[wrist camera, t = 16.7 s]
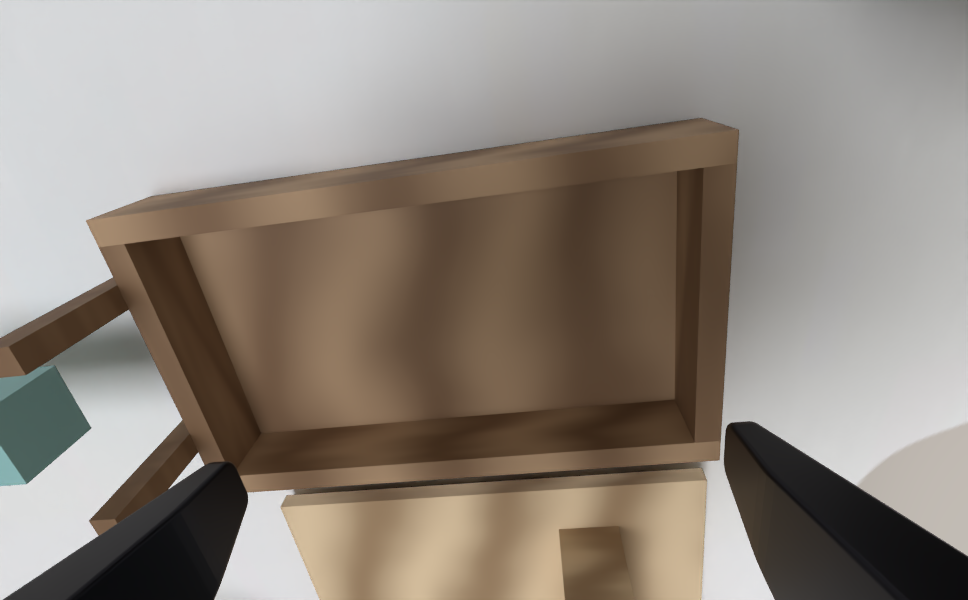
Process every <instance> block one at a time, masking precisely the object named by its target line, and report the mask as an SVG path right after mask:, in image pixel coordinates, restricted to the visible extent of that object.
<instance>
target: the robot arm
mask: <svg viewBox="0 0 968 600" xmlns="http://www.w3.org/2000/svg"><path fill="white" fill-rule="evenodd" d="M724 467H725V472H726V475H727V478H728V481H729V484H730V487H731V490H732V493H733V495H734V498H735V501H736V504H737V507H738V510H739V512H740V515H741V518H742V521H743V524H744V527H745V530H746V532H747V535H748V538H749V541H750V544H751V547H752V549H753V552H754V555H755V557H756V560H757V562H758V565H759V567H760V569H761V571H762V574H763V576H764V578H765V580H766V582H767V584H768V586H769V588H770V590H771V593H772V595H773V597H774V599H775V600H968V556H967V555H965V554H964V553H962V552H961V551H959V550H957V549H955V548H954V547H953V546H951V545H949V544H948V543H946V542H945V541H943V540H941V539H940V538H938V537H937V536H935V535H933V534H932V533H930V532H929V531H927V530H925V529H924V528H922V527H921V526H919V525H918V524H916V523H914V522H913V521H911V520H910V519H908V518H906V517H905V516H903V515H902V514H900V513H898V512H897V511H895V510H894V509H892V508H890V507H889V506H887V505H885V504H884V503H883V502H881V501H879V500H878V499H876V498H875V497H873V496H871V495H870V494H868V493H867V492H865V491H863V490H862V489H860V488H859V487H857V486H856V485H854V484H852V483H851V482H849V481H848V480H846V479H844V478H843V477H841V476H840V475H838V474H837V473H835V472H833V471H832V470H830V469H829V468H827V467H825V466H824V465H822V464H821V463H819V462H817V461H816V460H814V459H813V458H811V457H809V456H808V455H806V454H805V453H803V452H802V451H800V450H798V449H797V448H795V447H794V446H792V445H790V444H789V443H787V442H786V441H784V440H782V439H781V438H779V437H778V436H776V435H775V434H773V433H771V432H770V431H768V430H767V429H765V428H763V427H762V426H760V425H759V424H757V423H755V422H750V421H748V422H735V423H730V424H729V425H727V428H726V435H725V450H724ZM247 504H248V494H247V491H246V488H245V486H244V484H243V482H242V479H241V477H240V475H239V473H238V471H237V468H236V466H235V465H234V464H233V463H232V462H229V461H221V462H211V463H208V464H206V465H205V466H203V467H202V468H200V469H199V470H197V471H196V472H194V473H193V474H191V475H189V476H188V477H186V478H185V479H183V480H182V481H180V482H179V483H177V484H176V485H174V486H173V487H171V488H170V489H168V490H167V491H165V492H164V493H162V494H161V495H159V496H158V497H156V498H155V499H153V500H152V501H150V502H149V503H147V504H146V505H144V506H143V507H141V508H140V509H138V510H137V511H135V512H134V513H132V514H131V515H129V516H128V517H126V518H125V519H123V520H122V521H120V522H119V523H117V524H116V525H114V526H113V527H111V528H110V529H108V530H107V531H105V532H104V533H102V534H101V535H99V536H98V537H96V538H95V539H93V540H92V541H90V542H89V543H87V544H86V545H84V546H83V547H81V548H80V549H78V550H77V551H75V552H74V553H72V554H71V555H69V556H68V557H66V558H65V559H63V560H62V561H60V562H59V563H57V564H56V565H54V566H53V567H51V568H50V569H48V570H47V571H45V572H44V573H42V574H41V575H39V576H38V577H36V578H35V579H33V580H32V581H30V582H29V583H27V584H26V585H24V586H23V587H21V588H20V589H18V590H17V591H15V592H14V593H12V594H11V595H9V596H8V597H6V598H5V599H3V600H214V599H215V596H216V594H217V591H218V589H219V587H220V584H221V581H222V578H223V576H224V573H225V570H226V567H227V564H228V561H229V558H230V555H231V553H232V550H233V547H234V544H235V541H236V538H237V535H238V532H239V529H240V526H241V523H242V520H243V517H244V514H245V511H246V508H247Z"/></svg>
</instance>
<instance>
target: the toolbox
mask: <svg viewBox="0 0 968 600" xmlns="http://www.w3.org/2000/svg"><path fill="white" fill-rule="evenodd" d="M738 139H739V130H738V129H735V128H732V127H729V126H725V125H722V124H719V123H716V122H713V121H709V120H706V119H703V118H697V119H690V120H683V121H676V122H669V123H662V124H655V125H648V126H641V127H634V128H627V129H620V130H613V131H606V132H599V133H592V134H585V135H578V136H571V137H564V138H557V139H550V140H543V141H536V142H529V143H522V144H515V145H508V146H501V147H494V148H487V149H480V150H473V151H466V152H459V153H452V154H445V155H438V156H431V157H424V158H417V159H410V160H403V161H396V162H389V163H382V164H375V165H368V166H361V167H354V168H347V169H340V170H333V171H326V172H319V173H312V174H305V175H298V176H291V177H284V178H277V179H270V180H263V181H256V182H249V183H242V184H235V185H228V186H221V187H214V188H207V189H200V190H193V191H186V192H179V193H172V194H165V195H158V196H151V197H148V198H145V199H143V200H140V201H137V202H134V203H132V204H129V205H126V206H124V207H121V208H118V209H116V210H113V211H110V212H108V213H105V214H102V215H100V216H97V217H94V218H91V219H89V220H86V222H87V224H88V226H89V228H90V230H91V232H92V234H93V236H94V238H95V240H96V242H97V245H98V247H99V249H100V251H101V253H102V255H103V257H104V259H105V261H106V263H107V265H108V267H109V269H110V271H111V273H112V275H113V278H111V279H109V280H107V281H106V282H104V283H102V284H100V285H98V286H96V287H94V288H93V289H91V290H89V291H87V292H85V293H83V294H81V295H80V296H78V297H76V298H74V299H72V300H70V301H68V302H67V303H65V304H63V305H61V306H59V307H57V308H55V309H54V310H52V311H50V312H48V313H46V314H44V315H42V316H41V317H39V318H37V319H35V320H33V321H31V322H29V323H28V324H26V325H24V326H22V327H20V328H18V329H16V330H15V331H13V332H11V333H9V334H7V335H5V336H3V337H2V338H0V378H4V377H14V376H24V375H27V374H29V373H30V372H32V371H33V370H35V369H37V368H38V367H40V366H41V365H43V364H44V363H46V362H47V361H49V360H51V359H52V358H54V357H55V356H57V355H58V354H60V353H61V352H63V351H65V350H66V349H68V348H69V347H71V346H72V345H74V344H76V343H77V342H79V341H80V340H82V339H83V338H85V337H86V336H88V335H90V334H91V333H93V332H94V331H96V330H97V329H99V328H100V327H102V326H104V325H105V324H107V323H108V322H110V321H111V320H113V319H114V318H116V317H118V316H119V315H121V314H122V313H124V312H125V311H127V310H130V312H131V314H132V317H133V319H134V321H135V323H136V325H137V327H138V329H139V331H140V333H141V335H142V337H143V339H144V341H145V343H146V345H147V347H148V349H149V351H150V354H151V356H152V358H153V360H154V362H155V364H156V366H157V368H158V370H159V372H160V374H161V376H162V378H163V380H164V382H165V384H166V386H167V389H168V391H169V393H170V395H171V397H172V399H173V401H174V403H175V405H176V407H177V409H178V411H179V413H180V415H181V417H182V419H183V420H182V421H181V422H180V423H179V425H178V426H177V427H176V428H175V429H174V430H173V431H172V432H171V433H170V434H169V435H168V436H167V437H166V439H165V440H164V441H163V442H162V443H161V444H160V445H159V446H158V447H157V448H156V449H155V450H154V451H153V453H152V454H151V455H150V456H149V457H148V458H147V459H146V460H145V461H144V462H143V463H142V464H141V465H140V467H139V468H138V469H137V470H136V471H135V472H134V473H133V474H132V475H131V476H130V477H129V478H128V479H127V481H126V482H125V483H124V484H123V485H122V486H121V487H120V488H119V489H118V490H117V491H116V492H115V493H114V495H113V496H112V497H111V498H110V499H109V500H108V501H107V502H106V503H105V504H104V505H103V506H102V507H101V508H100V510H99V511H98V512H97V513H96V514H95V515H94V516H93V517H92V518H91V519H90V520H89V522H90V523H91V525H92V526H93V528H94V529H95V531H96V532H97V534H98V535H101V534H102V533H104V532H105V531H107V530H108V529H110V528H111V527H113V526H114V525H116V524H117V523H119V522H120V521H122V520H123V519H125V518H126V517H128V516H129V515H131V514H132V513H134V512H135V511H137V510H138V509H140V508H141V507H143V506H144V505H146V504H147V503H149V502H150V501H152V500H153V499H155V498H156V497H158V496H159V495H161V494H162V493H164V492H165V491H167V490H168V489H169V487H170V486H171V485H172V484H173V482H174V481H175V480H176V479H177V478H178V476H179V475H180V474H181V473H182V471H183V470H184V469H185V468H186V467H187V465H188V464H189V463H190V462H191V460H192V459H193V458H194V457H195V455H196V454H197V453H198V452H199V454H200V456H201V458H202V460H203V463H204V465H206V464H208V463H211V462H221V461H229V462H232V463H233V464H234V465H235V466H236V468H237V471H238V473H239V475H240V477H241V479H242V482H243V484H244V486H245V488H246V491H247V492H261V491H275V490H290V489H305V488H319V487H334V486H349V485H363V484H378V483H393V482H407V481H422V480H437V479H451V478H466V477H481V476H495V475H510V474H525V473H540V472H554V471H569V470H584V469H598V468H613V467H628V466H642V465H657V464H672V463H686V462H701V461H716V460H719V459H720V442H721V426H722V409H723V392H724V375H725V358H726V341H727V324H728V307H729V291H730V274H731V257H732V240H733V223H734V206H735V189H736V173H737V156H738Z"/></svg>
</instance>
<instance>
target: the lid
mask: <svg viewBox="0 0 968 600" xmlns="http://www.w3.org/2000/svg"><path fill="white" fill-rule="evenodd" d="M706 488H707V479H706V477H705V475H704V473H703V470H702V468H692V469H677V470H661V471H646V472H631V473H616V474H601V475H586V476H571V477H556V478H541V479H526V480H511V481H496V482H481V483H466V484H451V485H435V486H420V487H405V488H390V489H375V490H360V491H345V492H330V493H315V494H300V495H287V496H286V498H285V500H284V502H283V503H282V505H281V510H282V512H283V514H284V517H285V519H286V521H287V524H288V526H289V528H290V531H291V533H292V535H293V538H294V540H295V543H296V545H297V547H298V550H299V552H300V554H301V557H302V559H303V561H304V564H305V566H306V568H307V571H308V573H309V576H310V578H311V580H312V583H313V585H314V587H315V590H316V592H317V594H318V597H319V599H320V600H701V594H702V573H703V551H704V530H705V509H706Z"/></svg>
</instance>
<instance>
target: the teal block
mask: <svg viewBox="0 0 968 600" xmlns="http://www.w3.org/2000/svg"><path fill="white" fill-rule="evenodd" d="M90 429H91V427H90V425H89V423H88V422H87V420H86V418H85V417H84V415H83V413H82V411H81V410H80V408H79V406H78V405H77V403H76V401H75V399H74V398H73V396H72V394H71V393H70V391H69V389H68V387H67V386H66V384H65V382H64V381H63V379H62V377H61V375H60V374H59V372H58V370H57V369H56V367H55V365H54V366H45V367H38V368H37V369H35V370H33V371H32V372H30V373H29V374H27V375H24V376H14V377H4V378H0V486H7V485H20V484H27V483H29V482H30V481H31V480H32V479H33V478H34V477H36V476H37V475H38V474H39V473H40V472H41V471H42V470H44V469H45V468H46V467H47V466H48V465H49V464H51V463H52V462H53V461H54V460H55V459H56V458H58V457H59V456H60V455H61V454H62V453H63V452H64V451H66V450H67V449H68V448H69V447H70V446H71V445H73V444H74V443H75V442H76V441H77V440H78V439H79V438H81V437H82V436H83V435H84V434H85V433H86V432H88V431H89V430H90Z"/></svg>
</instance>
